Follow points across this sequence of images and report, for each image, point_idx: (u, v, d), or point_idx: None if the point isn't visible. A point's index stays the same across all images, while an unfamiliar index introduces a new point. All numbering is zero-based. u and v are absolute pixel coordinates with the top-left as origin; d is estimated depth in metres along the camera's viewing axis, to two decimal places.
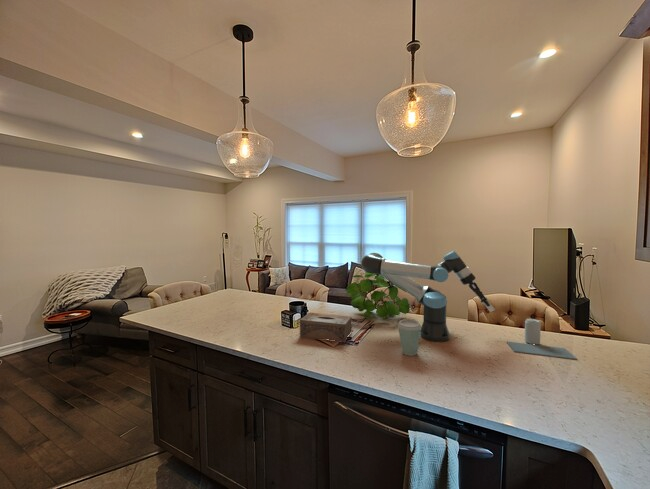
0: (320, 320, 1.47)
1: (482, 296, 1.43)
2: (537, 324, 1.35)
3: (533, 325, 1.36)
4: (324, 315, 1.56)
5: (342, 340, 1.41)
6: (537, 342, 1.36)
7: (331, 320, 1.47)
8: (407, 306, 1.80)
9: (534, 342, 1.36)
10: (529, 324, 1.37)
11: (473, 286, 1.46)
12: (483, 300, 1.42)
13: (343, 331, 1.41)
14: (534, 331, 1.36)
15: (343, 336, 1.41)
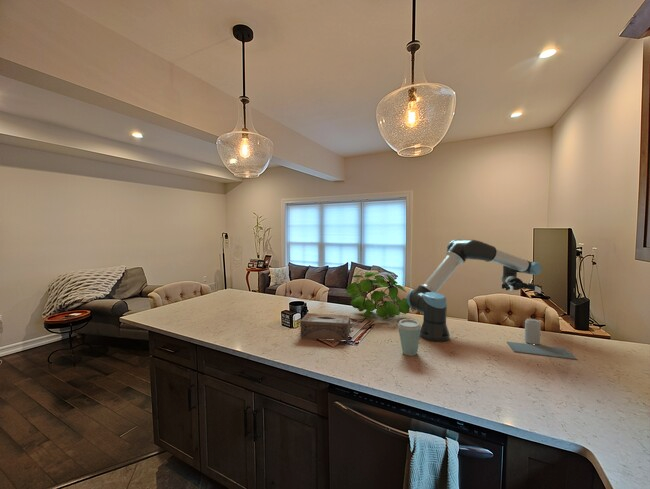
0: (321, 320, 1.46)
1: None
2: (537, 324, 1.35)
3: (533, 325, 1.36)
4: (323, 315, 1.56)
5: (344, 339, 1.42)
6: (537, 342, 1.36)
7: (332, 320, 1.47)
8: (407, 306, 1.80)
9: (534, 342, 1.36)
10: (529, 324, 1.37)
11: None
12: (541, 287, 1.52)
13: (345, 330, 1.42)
14: (534, 331, 1.36)
15: (345, 335, 1.42)
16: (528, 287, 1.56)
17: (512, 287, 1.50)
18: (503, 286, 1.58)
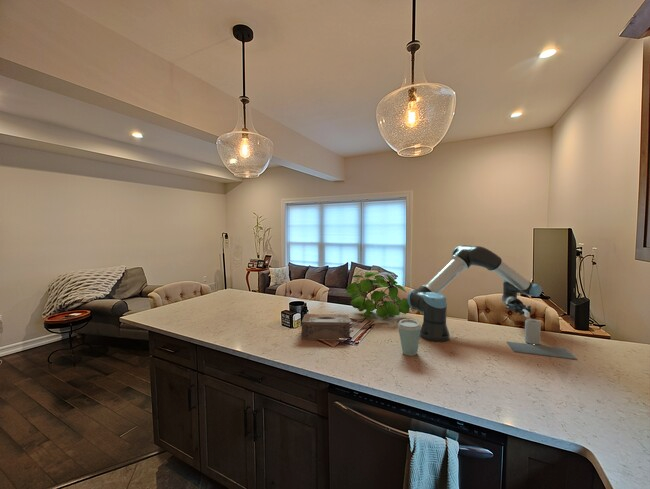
0: (322, 320, 1.46)
1: (530, 311, 1.53)
2: (537, 324, 1.35)
3: (533, 325, 1.36)
4: (322, 315, 1.55)
5: None
6: (537, 342, 1.36)
7: (333, 319, 1.48)
8: (407, 306, 1.80)
9: (534, 342, 1.36)
10: (529, 324, 1.37)
11: (530, 308, 1.58)
12: (530, 310, 1.51)
13: (347, 329, 1.43)
14: (534, 331, 1.36)
15: (347, 334, 1.43)
16: None
17: (527, 313, 1.46)
18: (517, 310, 1.53)
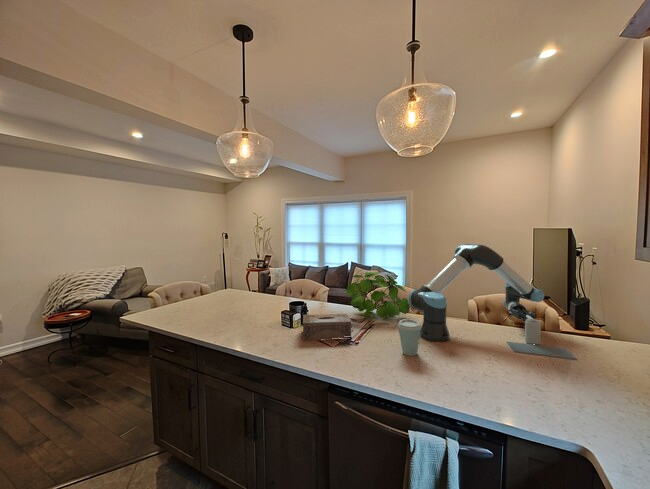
0: (323, 320, 1.46)
1: None
2: (538, 325, 1.35)
3: (533, 325, 1.36)
4: (321, 315, 1.55)
5: None
6: (537, 342, 1.36)
7: (334, 319, 1.48)
8: (407, 306, 1.80)
9: (534, 342, 1.36)
10: (529, 324, 1.37)
11: (534, 313, 1.54)
12: (534, 316, 1.47)
13: (349, 328, 1.45)
14: (534, 331, 1.35)
15: (349, 333, 1.45)
16: None
17: None
18: (520, 316, 1.49)
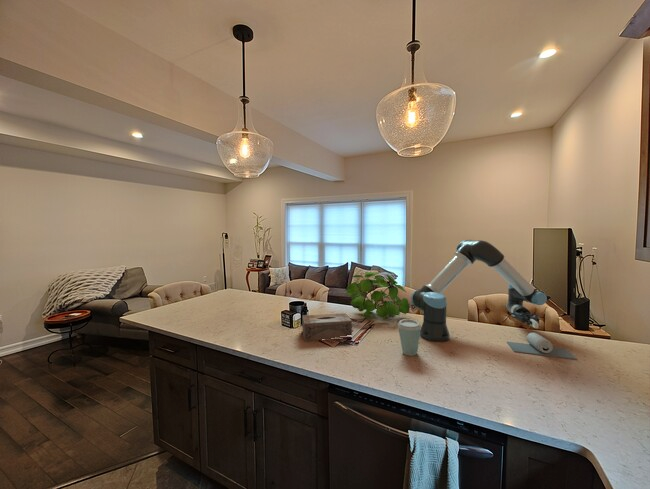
0: (324, 321, 1.46)
1: (538, 321, 1.42)
2: (548, 351, 1.26)
3: None
4: (320, 316, 1.55)
5: None
6: None
7: (334, 319, 1.49)
8: (407, 306, 1.80)
9: None
10: None
11: (538, 317, 1.47)
12: None
13: (349, 327, 1.46)
14: None
15: (349, 332, 1.46)
16: (529, 319, 1.46)
17: (535, 323, 1.35)
18: (524, 320, 1.43)
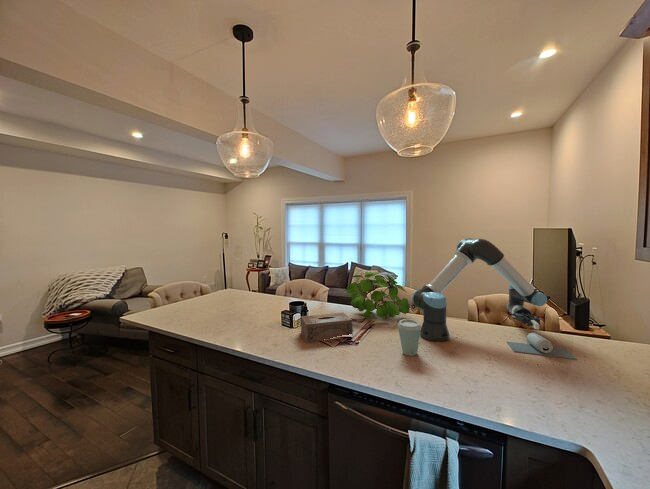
0: (325, 321, 1.46)
1: (539, 322, 1.40)
2: (548, 352, 1.26)
3: None
4: (320, 316, 1.54)
5: None
6: None
7: (334, 319, 1.49)
8: (407, 306, 1.80)
9: None
10: (539, 350, 1.27)
11: (539, 318, 1.45)
12: None
13: (350, 326, 1.48)
14: None
15: (350, 331, 1.48)
16: (530, 320, 1.43)
17: (536, 324, 1.33)
18: (525, 321, 1.41)
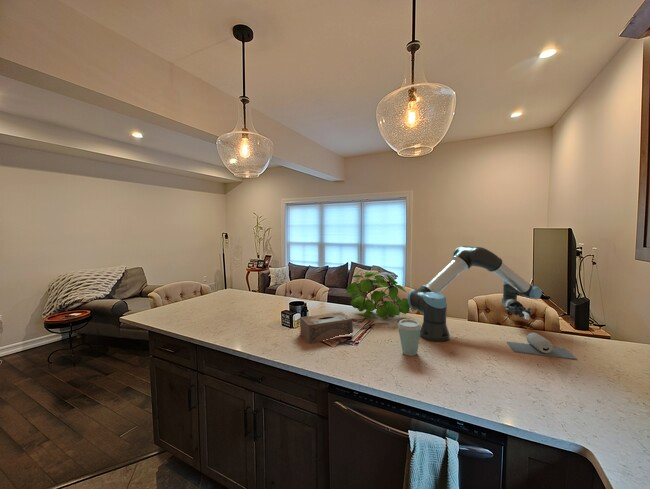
0: (327, 321, 1.46)
1: (530, 313, 1.53)
2: (548, 352, 1.26)
3: None
4: (319, 316, 1.54)
5: None
6: None
7: (335, 318, 1.50)
8: (407, 306, 1.80)
9: None
10: (539, 350, 1.27)
11: (530, 310, 1.58)
12: (530, 313, 1.51)
13: (351, 325, 1.49)
14: None
15: (351, 330, 1.49)
16: (522, 312, 1.56)
17: (527, 315, 1.45)
18: (516, 312, 1.53)
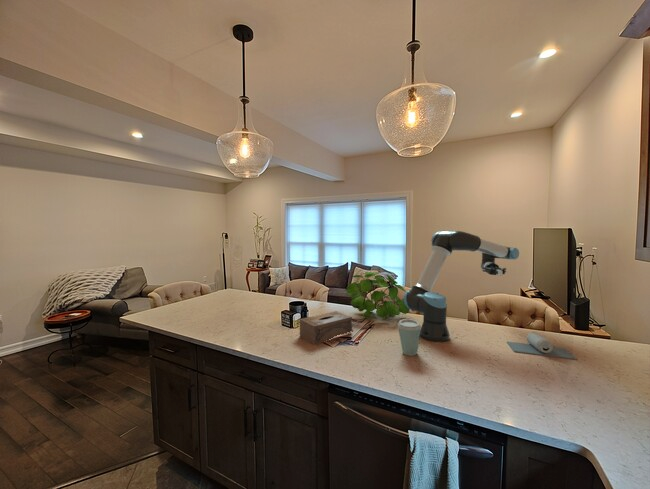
0: (329, 320, 1.46)
1: (504, 272, 1.59)
2: (548, 352, 1.26)
3: None
4: (318, 317, 1.53)
5: None
6: None
7: (335, 318, 1.51)
8: None
9: None
10: (539, 350, 1.27)
11: (505, 270, 1.64)
12: (504, 271, 1.58)
13: (350, 323, 1.52)
14: None
15: (350, 328, 1.53)
16: (497, 271, 1.63)
17: (500, 271, 1.52)
18: (491, 271, 1.60)
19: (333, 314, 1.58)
